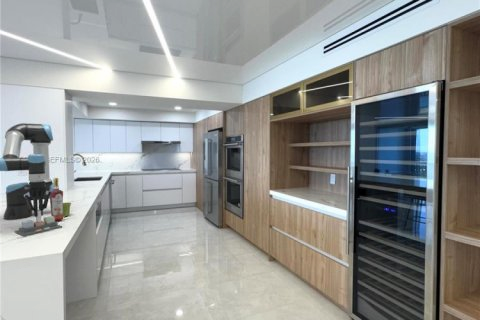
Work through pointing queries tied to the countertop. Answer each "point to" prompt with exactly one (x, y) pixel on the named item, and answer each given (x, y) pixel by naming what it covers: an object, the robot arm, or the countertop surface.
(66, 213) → the plant pot
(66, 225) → the countertop surface
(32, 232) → the keypad
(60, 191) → the liquor
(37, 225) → the key terracotta
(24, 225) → the key bluegrey
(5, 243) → the countertop surface
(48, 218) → the key sage
